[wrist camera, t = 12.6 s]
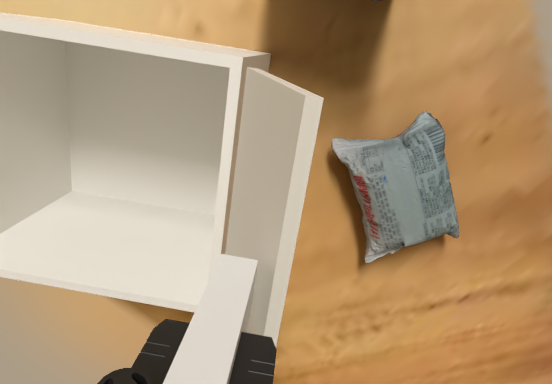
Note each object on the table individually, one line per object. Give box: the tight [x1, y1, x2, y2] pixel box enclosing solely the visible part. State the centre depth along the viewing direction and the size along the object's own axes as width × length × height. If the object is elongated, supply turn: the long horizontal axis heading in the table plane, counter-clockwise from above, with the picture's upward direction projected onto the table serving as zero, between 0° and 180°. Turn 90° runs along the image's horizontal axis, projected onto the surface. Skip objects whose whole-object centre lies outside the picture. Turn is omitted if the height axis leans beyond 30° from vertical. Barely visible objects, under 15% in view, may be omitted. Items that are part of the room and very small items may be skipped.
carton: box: [0, 13, 271, 313], centre depth 29 cm, size 16×18×14 cm
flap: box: [225, 67, 324, 347], centre depth 18 cm, size 15×8×1 cm
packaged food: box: [332, 111, 459, 263], centre depth 33 cm, size 9×12×5 cm
